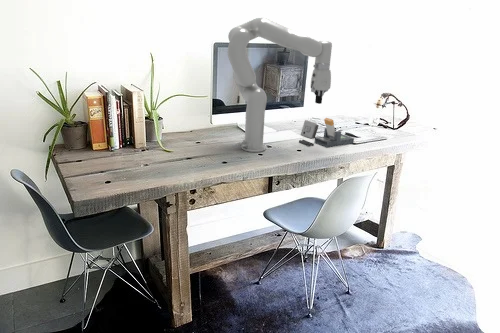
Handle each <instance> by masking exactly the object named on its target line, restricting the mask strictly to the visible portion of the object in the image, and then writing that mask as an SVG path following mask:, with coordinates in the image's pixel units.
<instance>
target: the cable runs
mask: <svg viewBox="0 0 500 333" xmlns="http://www.w3.org/2000/svg"><path fill="white" fill-rule="evenodd" d="M298 143H299V144H302V145H305V146H307V147H313V146H315V143H313V142H311V141H309V140H306V139H302V140H301V139H300V140H298Z"/></svg>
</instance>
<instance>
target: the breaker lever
mask: <svg viewBox="0 0 500 333" xmlns="http://www.w3.org/2000/svg"><path fill="white" fill-rule="evenodd" d="M323 120H324V125H325V128H326V129H327V133H328V134H327V136H329V137H331V138H334V139H335V132H336V128H335V123H334V119H332V118H329V117H325V118H324V119H323Z"/></svg>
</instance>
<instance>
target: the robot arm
mask: <svg viewBox="0 0 500 333" xmlns="http://www.w3.org/2000/svg"><path fill="white" fill-rule="evenodd" d="M256 38H262V39H264V40H266V41H269V42H271V43H274V44H276V45H278V46H280V47H283V48H287V49H291V50H295V51H298V52H300V54H302V55H303V56H305V57H311V58H314V64H313V71H312V74H311V80H310V92H311V93H313V94H314V96H315V101H314V102H315V104H322V102H323V96H324V95H325V93H326V92H328V91H329V90H330V89H331V86H332V85H331V84H332V83H331V82H332V72H331V68H330V67H331V59H332V58H331V57H332V48H333V43H332V41H330V40H328V41H327V40H319V41H318V40H316V39H314V38H311V37H309V36H307V35H305V34H302V33H299V32H298V31H296V30H293V29H290V28H288V27H286V26H284V25H281V24H279V23H277V22H274V21H273V20H270V19H267V18H264V17H257V18H253V19H251V20H249V21H247V22H245V23H242V24H239V25H237V26H234V27H233V28H232V29H230V30H229V32H228V41H229V43H228V46H227V57H228V61H229V62H230V65H231V68H232V70H233V79H234V82H235V84H236V86H237V88H238V90H239V93H240V94H241V96H242V98H243V99H244V101H245V102H246V109H245V123H244V124H245V125H244V126H245V128H244V129H245V130H244V139H243V140H242V141H241V142H236V143H235V146H236V147H241V150H243V151H245V152H250V153H260V152H264V151H266V148H267V147H266V145H264V134H265V132H264V129H265V116H266V115H265V114H266V107H267V100H268V99H267V98H268V97H267V94H266V92H265V90H264V89H263V88H262V87H260V86H258V84H257V75H256V72H255V69H254V68H253V66H252V64H251V62H250V60H249V58H248V55H247V47H248V45H249V42H250V41H252V40H254V39H256Z"/></svg>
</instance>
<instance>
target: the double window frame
mask: <svg viewBox="0 0 500 333" xmlns="http://www.w3.org/2000/svg"><path fill="white" fill-rule="evenodd" d="M327 134H328V133H327V129H326V127H325V128H324V131H323V136H318V137H315V138H314V143H313V144H315V145H317V146H320V147H322V148H325V149H328V148H329V149H330V148H335V147H340V146H341V147H342V146H346V145H353V144H354V142H355V138H354V137H352V136H348V135H345V134H343V133H342V131H340V130H338V131H336V130H335V139H334V138H331V137H329V136H327Z"/></svg>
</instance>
